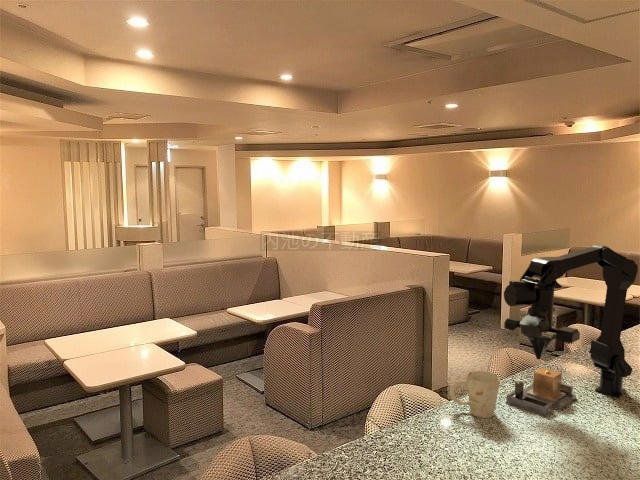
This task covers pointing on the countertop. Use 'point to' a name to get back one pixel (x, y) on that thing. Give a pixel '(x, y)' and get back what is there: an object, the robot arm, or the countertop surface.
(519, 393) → the lever
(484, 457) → the countertop surface
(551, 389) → the block
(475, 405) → the mug
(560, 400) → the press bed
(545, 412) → the lever track
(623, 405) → the countertop surface
